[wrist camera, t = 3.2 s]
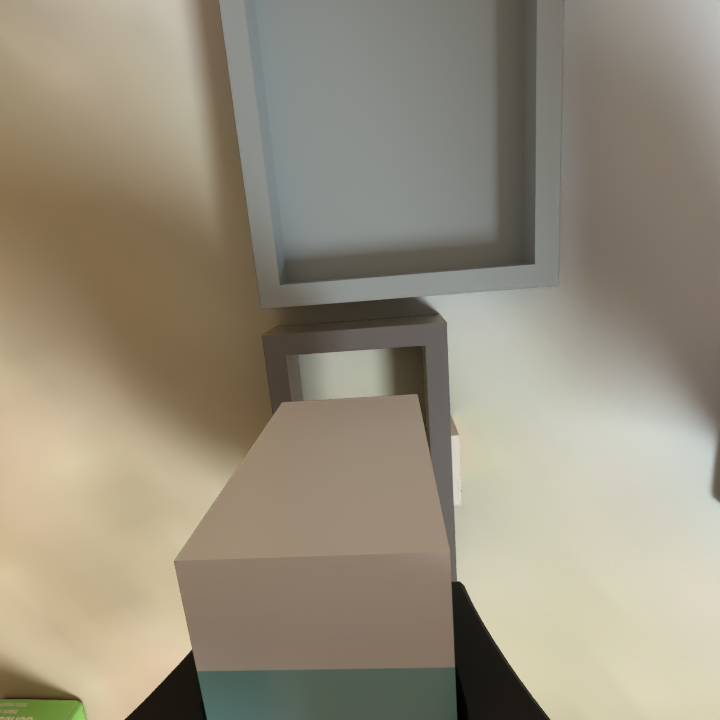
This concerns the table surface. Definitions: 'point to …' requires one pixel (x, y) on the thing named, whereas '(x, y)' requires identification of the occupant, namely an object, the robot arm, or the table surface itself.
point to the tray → (398, 145)
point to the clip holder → (378, 335)
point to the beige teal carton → (325, 572)
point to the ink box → (41, 709)
